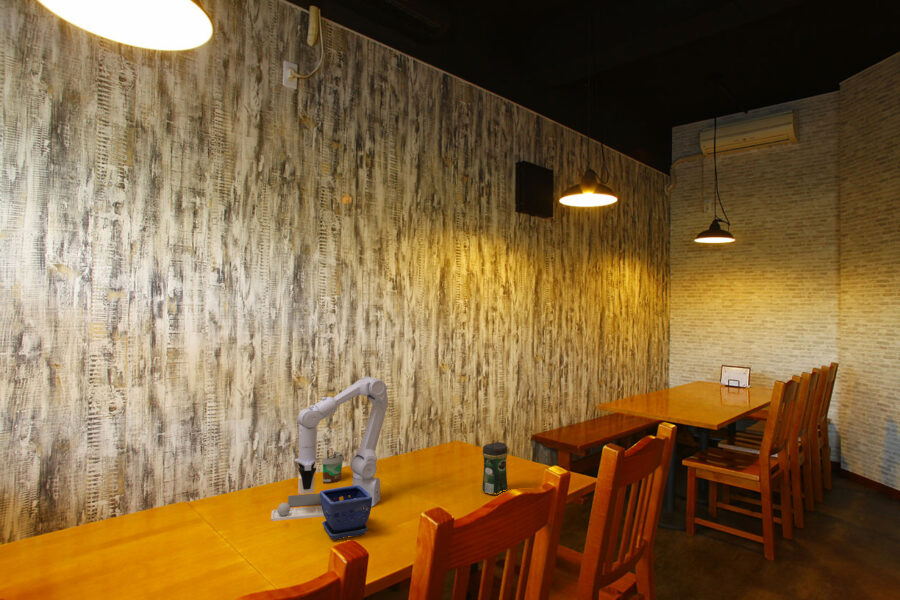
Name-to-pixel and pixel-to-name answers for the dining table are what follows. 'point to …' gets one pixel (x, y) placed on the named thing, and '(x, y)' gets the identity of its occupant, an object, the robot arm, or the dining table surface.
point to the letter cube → (302, 491)
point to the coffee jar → (495, 468)
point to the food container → (332, 468)
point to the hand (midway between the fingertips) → (306, 486)
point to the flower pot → (345, 511)
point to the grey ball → (283, 509)
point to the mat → (304, 500)
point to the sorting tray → (298, 513)
